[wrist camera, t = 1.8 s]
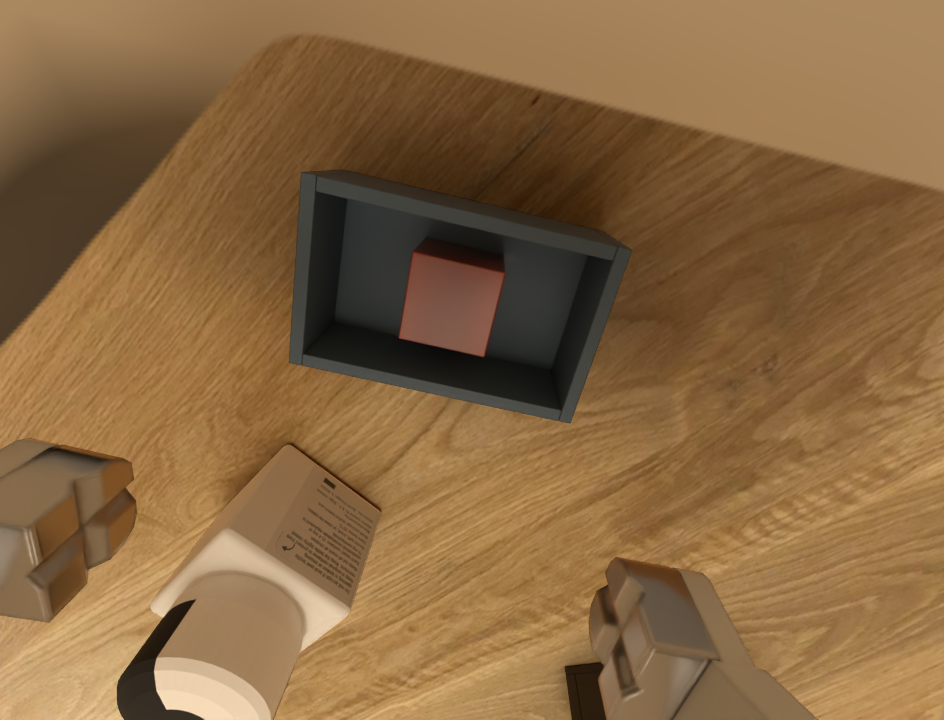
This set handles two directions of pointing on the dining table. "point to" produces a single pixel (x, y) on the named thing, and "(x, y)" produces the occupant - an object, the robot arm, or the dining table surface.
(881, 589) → the dining table surface
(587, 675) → the basket
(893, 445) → the dining table surface
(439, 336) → the block
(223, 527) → the container
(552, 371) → the box
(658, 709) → the robot arm
